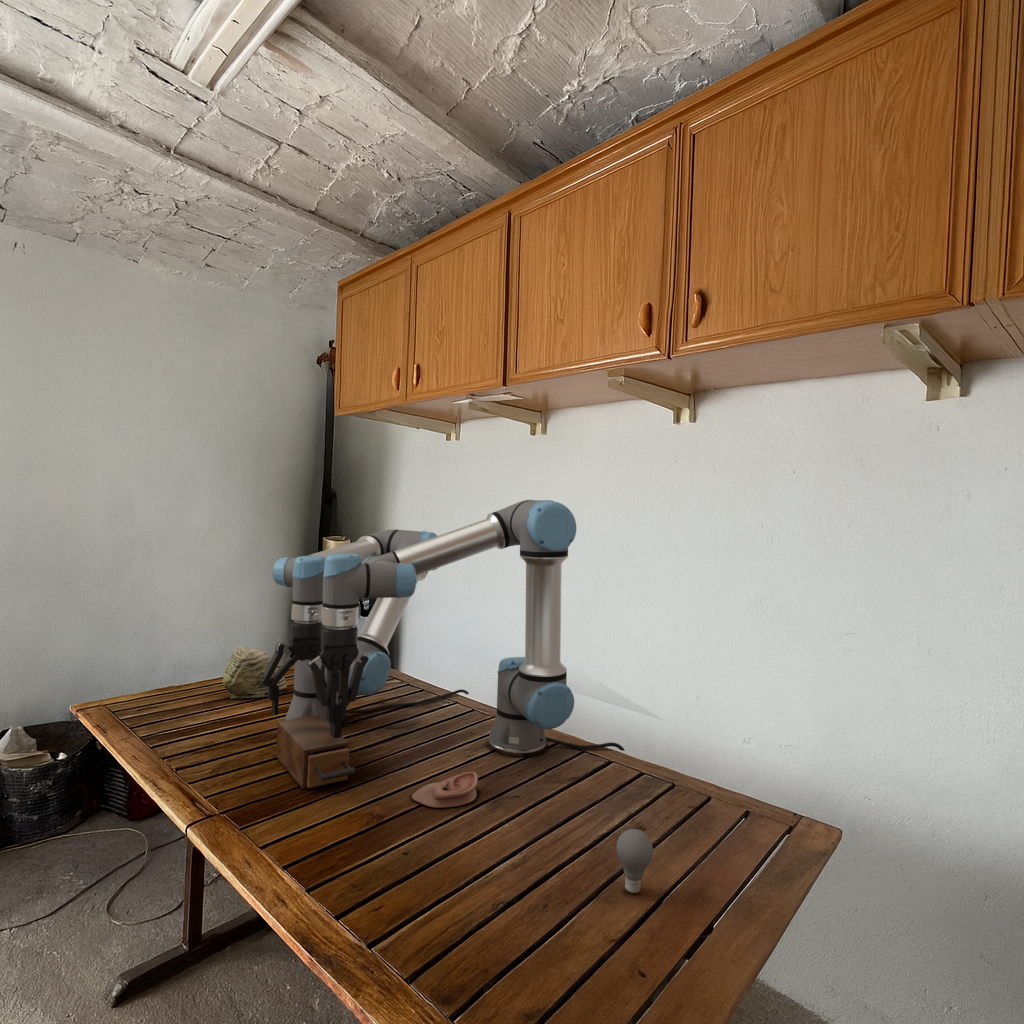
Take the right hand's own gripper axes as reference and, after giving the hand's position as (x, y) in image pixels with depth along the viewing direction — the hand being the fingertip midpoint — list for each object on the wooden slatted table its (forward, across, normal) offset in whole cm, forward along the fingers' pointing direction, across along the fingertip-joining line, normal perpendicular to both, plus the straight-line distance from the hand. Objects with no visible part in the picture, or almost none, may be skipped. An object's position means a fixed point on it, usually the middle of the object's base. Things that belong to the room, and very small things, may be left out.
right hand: (335, 735), depth 135 cm
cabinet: (+12, 0, +15) cm, 20 cm away
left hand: (0, 0, +21) cm, 21 cm away
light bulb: (+12, +30, -58) cm, 67 cm away
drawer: (+11, 0, +10) cm, 15 cm away
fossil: (+12, +2, +75) cm, 76 cm away
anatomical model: (+12, +20, -14) cm, 27 cm away
